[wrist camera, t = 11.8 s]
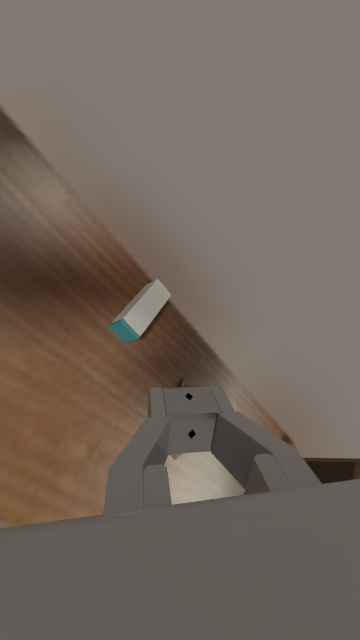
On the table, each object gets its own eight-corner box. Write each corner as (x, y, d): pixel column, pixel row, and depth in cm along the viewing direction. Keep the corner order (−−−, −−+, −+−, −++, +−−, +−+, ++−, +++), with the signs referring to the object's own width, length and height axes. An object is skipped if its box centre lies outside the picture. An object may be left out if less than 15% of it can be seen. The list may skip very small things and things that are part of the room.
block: (120, 321, 37) (158, 278, 45) (108, 326, 41) (145, 285, 48) (137, 339, 39) (171, 295, 47) (125, 342, 42) (158, 300, 50)
